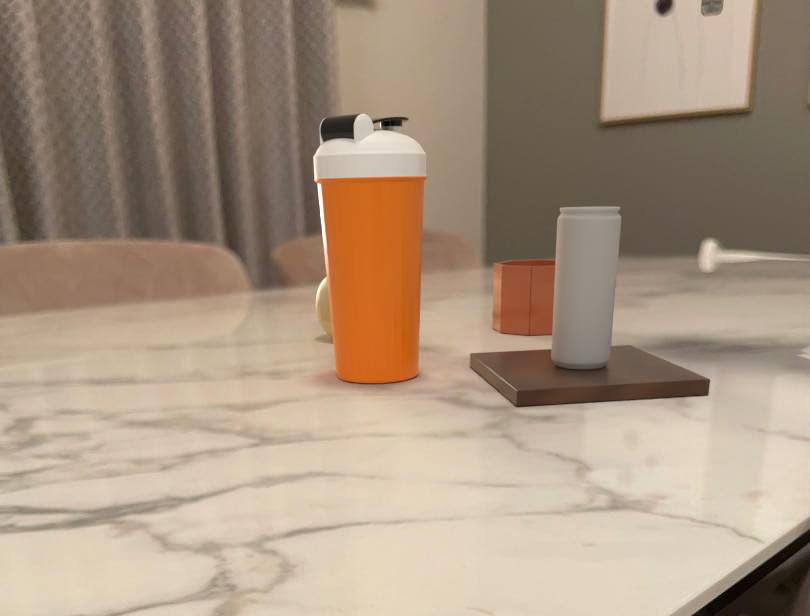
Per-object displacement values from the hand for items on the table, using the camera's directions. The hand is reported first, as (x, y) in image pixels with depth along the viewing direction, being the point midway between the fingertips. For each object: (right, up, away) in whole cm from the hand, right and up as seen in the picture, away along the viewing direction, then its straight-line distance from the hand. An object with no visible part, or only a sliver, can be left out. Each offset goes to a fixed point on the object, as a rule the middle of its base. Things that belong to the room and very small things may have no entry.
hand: (711, 6), depth 68 cm
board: (-10, -30, +1) cm, 32 cm away
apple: (-30, -21, +23) cm, 44 cm away
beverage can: (-10, -29, +1) cm, 31 cm away
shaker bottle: (-27, -29, +5) cm, 40 cm away
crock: (-11, -20, +26) cm, 34 cm away
